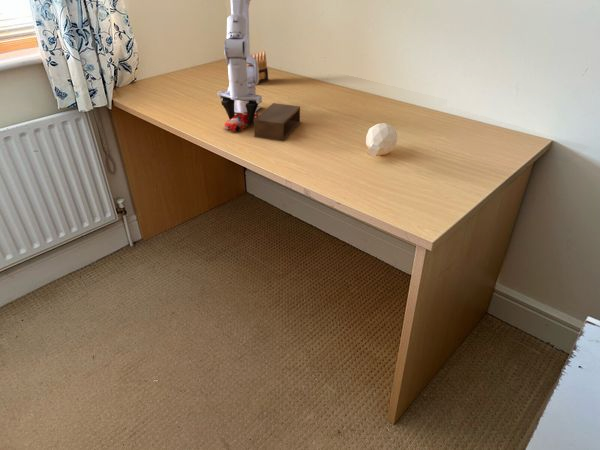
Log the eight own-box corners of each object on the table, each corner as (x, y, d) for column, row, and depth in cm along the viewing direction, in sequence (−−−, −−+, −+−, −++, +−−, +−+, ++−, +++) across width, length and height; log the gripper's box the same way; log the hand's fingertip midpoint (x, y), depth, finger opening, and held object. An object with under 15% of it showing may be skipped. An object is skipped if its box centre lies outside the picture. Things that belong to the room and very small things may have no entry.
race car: (232, 134, 137) (231, 122, 135) (221, 130, 140) (220, 118, 138) (262, 122, 145) (261, 110, 143) (250, 118, 148) (249, 107, 146)
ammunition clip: (249, 85, 179) (247, 55, 172) (246, 84, 180) (244, 54, 173) (268, 80, 185) (267, 50, 178) (265, 79, 186) (264, 50, 179)
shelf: (254, 136, 135) (253, 119, 132) (274, 119, 148) (273, 102, 145) (282, 140, 133) (282, 123, 130) (300, 122, 145) (300, 106, 142)
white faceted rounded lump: (367, 137, 131) (353, 157, 123) (378, 112, 124) (364, 131, 116) (393, 150, 129) (381, 171, 122) (406, 125, 123) (393, 146, 115)
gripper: (211, 81, 133) (215, 123, 141) (254, 86, 129) (256, 129, 137) (222, 75, 138) (226, 116, 146) (263, 79, 134) (265, 121, 142)
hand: (241, 122), depth 142 cm, fingers closed on race car, 6 cm apart
